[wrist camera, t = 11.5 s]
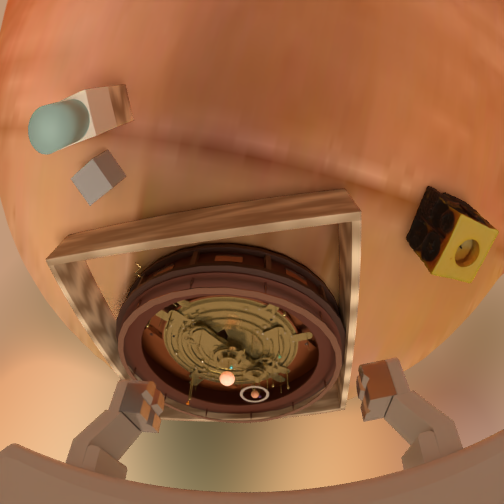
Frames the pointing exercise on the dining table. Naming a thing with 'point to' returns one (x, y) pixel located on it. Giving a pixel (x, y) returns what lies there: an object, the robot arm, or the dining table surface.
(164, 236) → the orrery frame
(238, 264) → the planetary model
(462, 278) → the yellow dark brown cube
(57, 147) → the sage green cylinder
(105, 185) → the slate block
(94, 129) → the cream white cube
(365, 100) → the dining table surface
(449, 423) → the robot arm
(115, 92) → the tower base
